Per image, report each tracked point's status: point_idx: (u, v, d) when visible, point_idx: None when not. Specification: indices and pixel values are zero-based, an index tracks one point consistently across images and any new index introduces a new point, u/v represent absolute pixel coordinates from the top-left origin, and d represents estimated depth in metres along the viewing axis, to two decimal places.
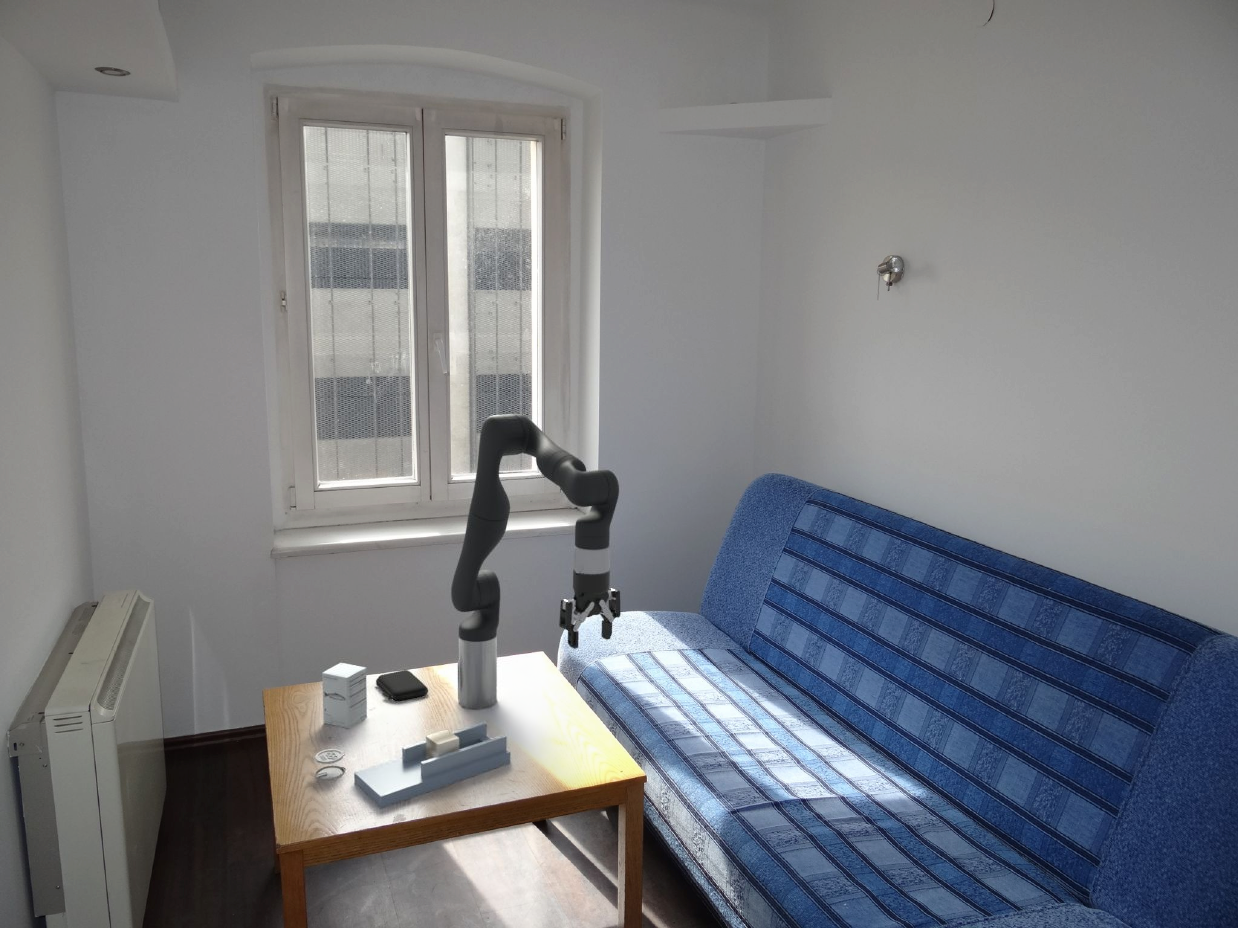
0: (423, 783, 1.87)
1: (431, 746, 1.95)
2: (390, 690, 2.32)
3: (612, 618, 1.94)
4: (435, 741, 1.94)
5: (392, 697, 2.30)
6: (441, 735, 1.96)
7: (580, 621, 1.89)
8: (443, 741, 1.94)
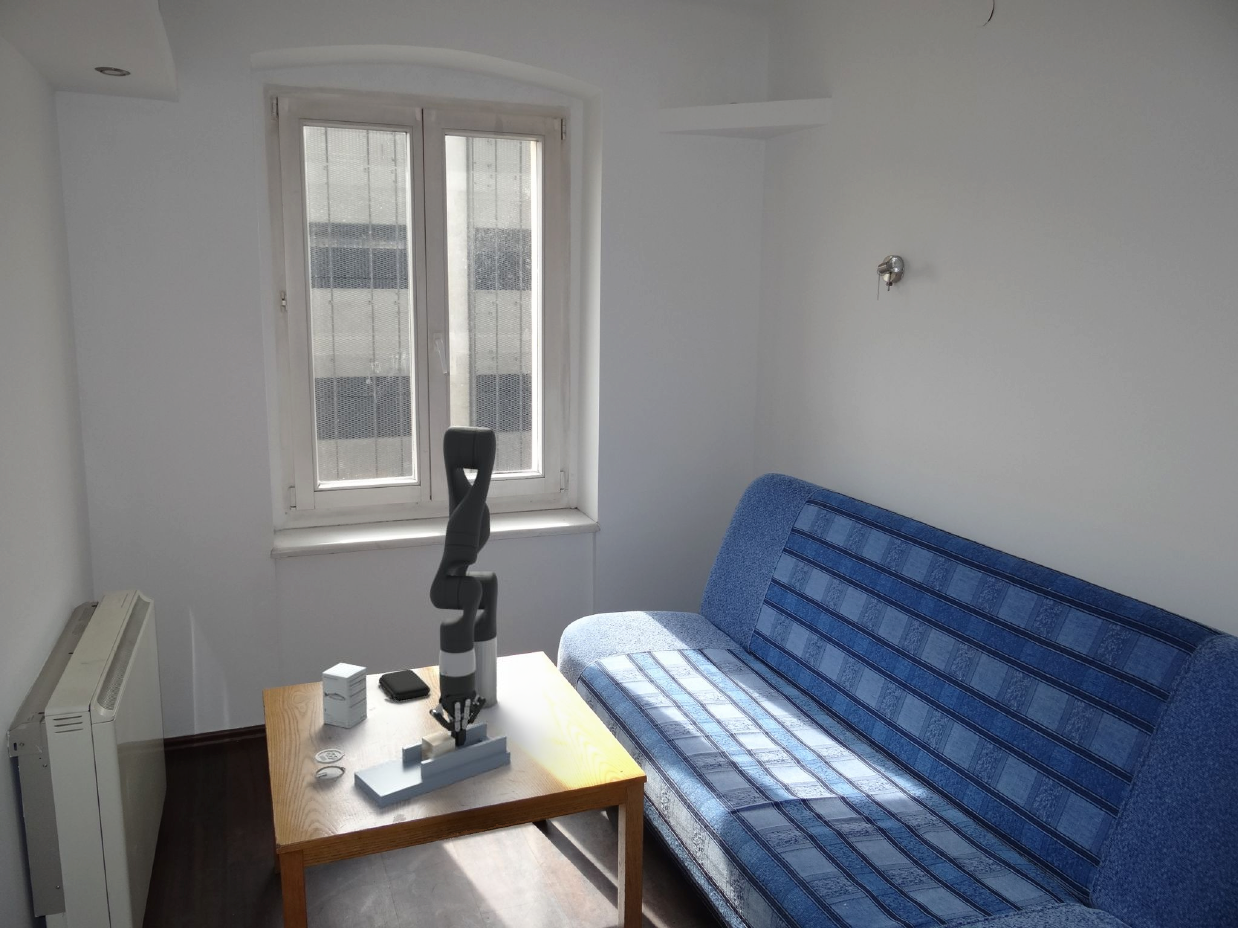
0: (423, 783, 1.87)
1: (427, 748, 1.94)
2: (392, 689, 2.32)
3: (465, 725, 1.98)
4: (431, 742, 1.93)
5: (394, 696, 2.30)
6: (437, 737, 1.96)
7: (458, 721, 1.96)
8: (439, 742, 1.93)
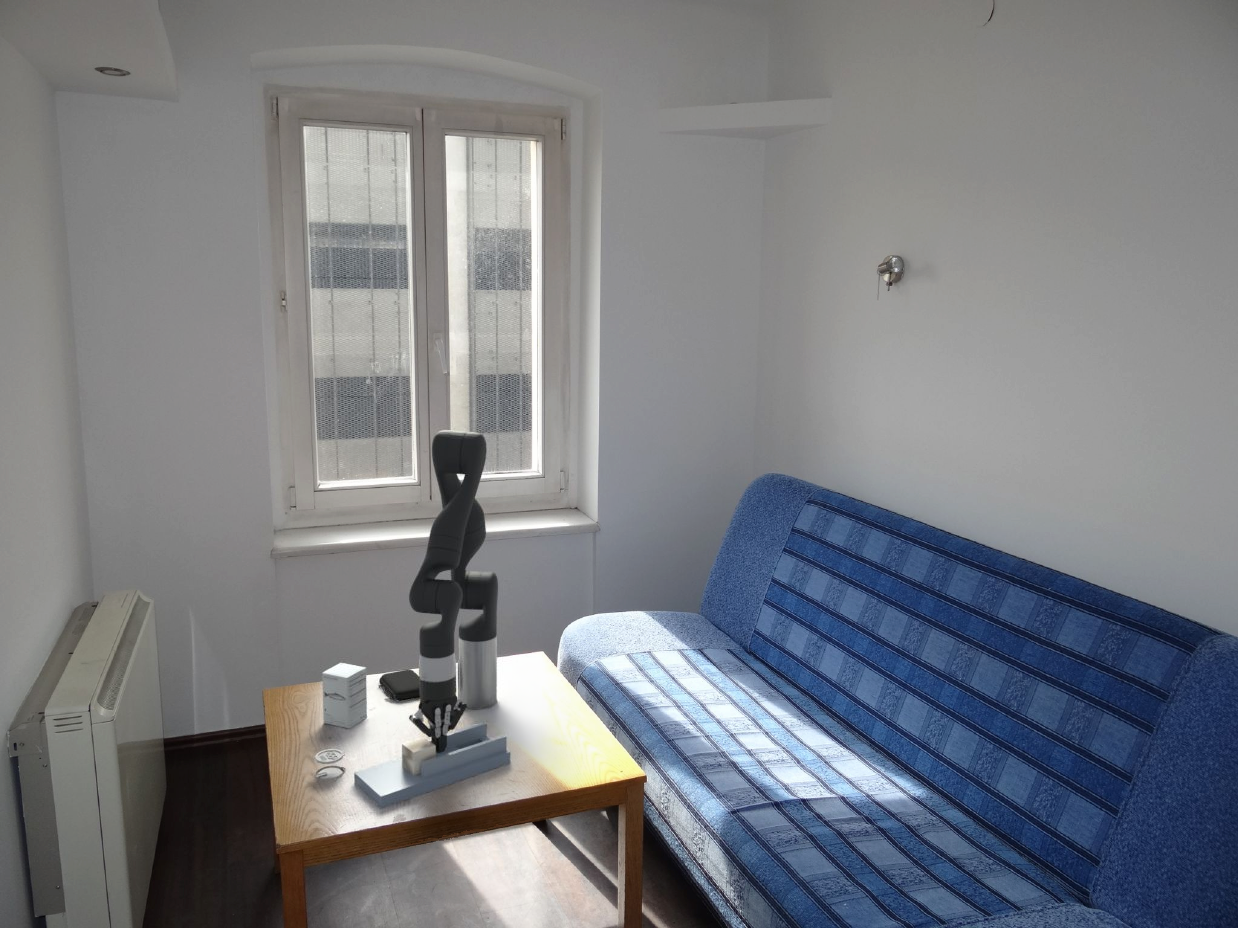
0: (423, 783, 1.87)
1: (407, 754, 1.91)
2: (392, 689, 2.33)
3: (446, 731, 1.95)
4: (411, 749, 1.90)
5: (394, 696, 2.30)
6: (417, 743, 1.93)
7: (438, 727, 1.93)
8: (419, 749, 1.90)
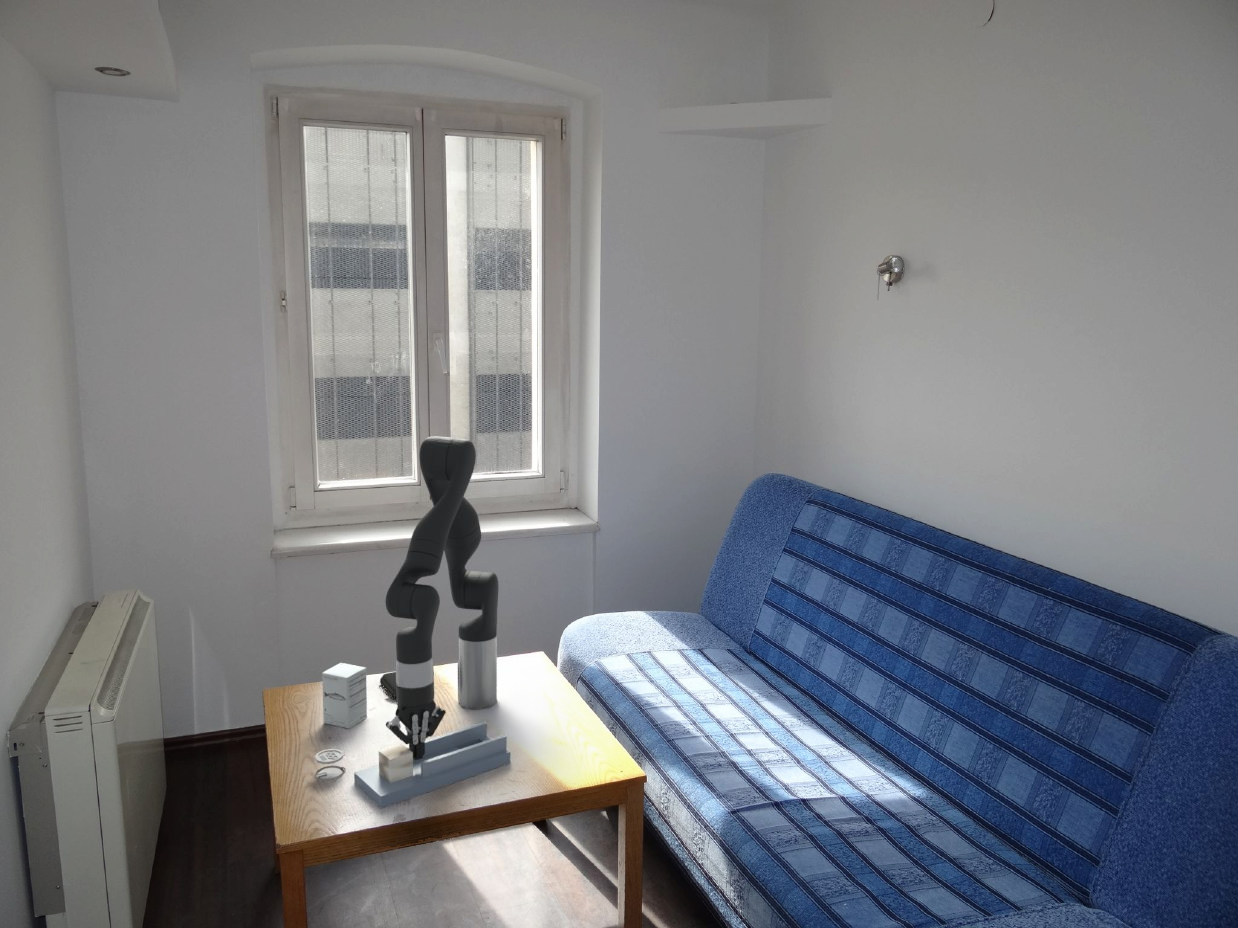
0: (423, 783, 1.87)
1: (384, 761, 1.88)
2: (393, 689, 2.33)
3: (423, 738, 1.91)
4: (387, 756, 1.87)
5: (394, 696, 2.30)
6: (395, 750, 1.89)
7: (415, 733, 1.90)
8: (396, 756, 1.87)
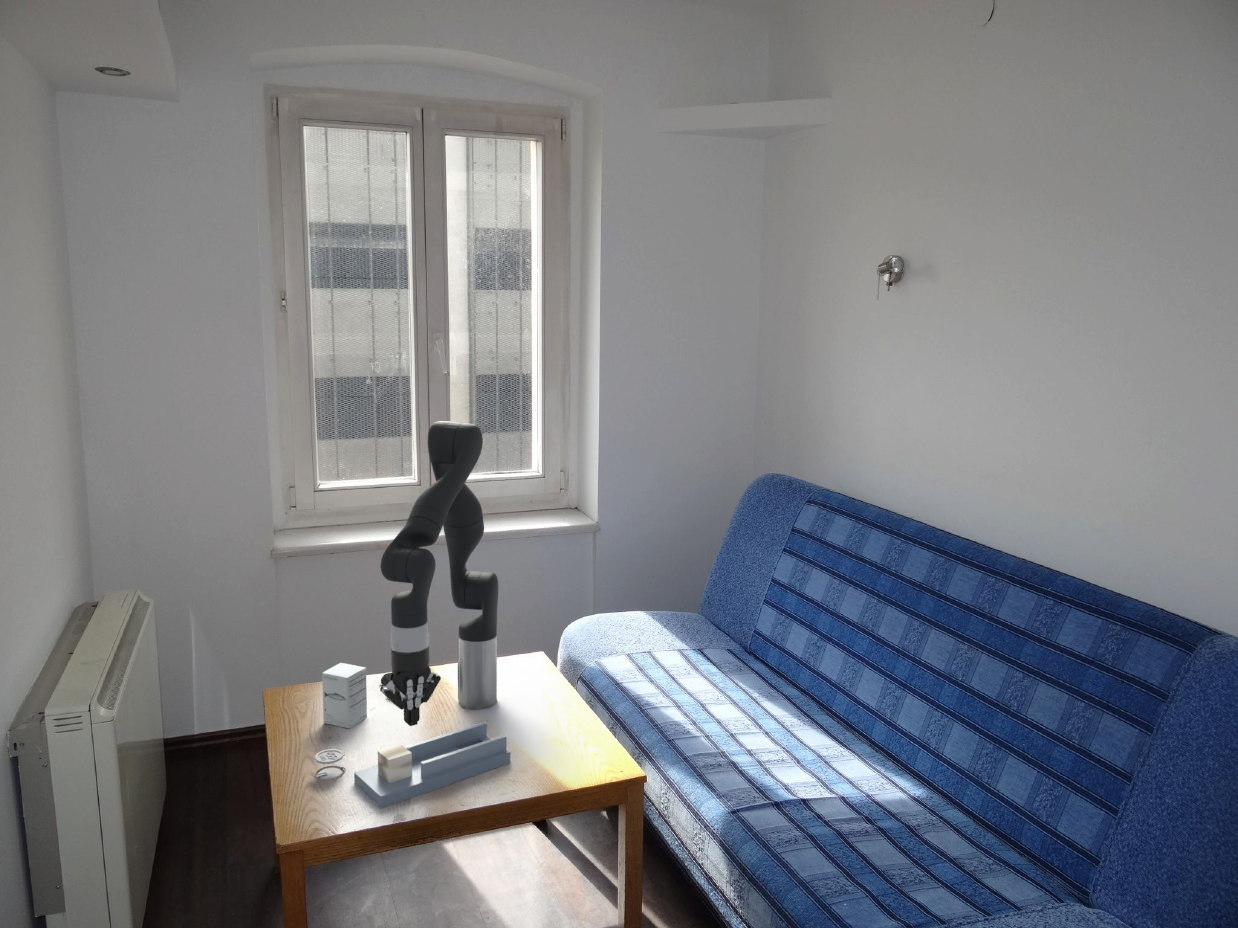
0: (423, 783, 1.87)
1: (383, 761, 1.88)
2: None
3: (418, 703, 1.90)
4: (386, 756, 1.87)
5: None
6: (394, 750, 1.89)
7: (410, 699, 1.88)
8: (395, 756, 1.87)
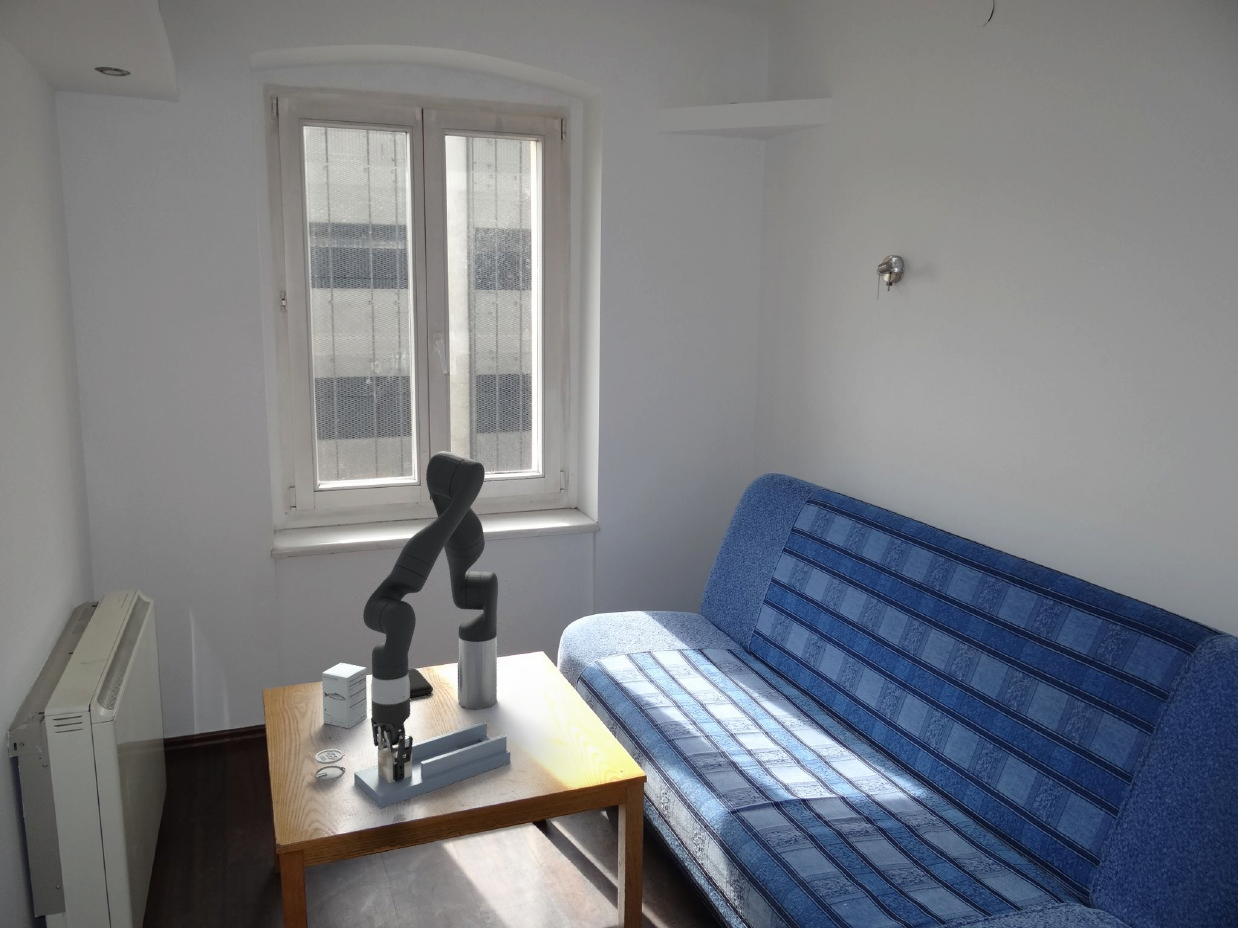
0: (423, 783, 1.87)
1: (383, 761, 1.88)
2: None
3: (394, 761, 1.85)
4: (386, 756, 1.87)
5: None
6: None
7: None
8: None
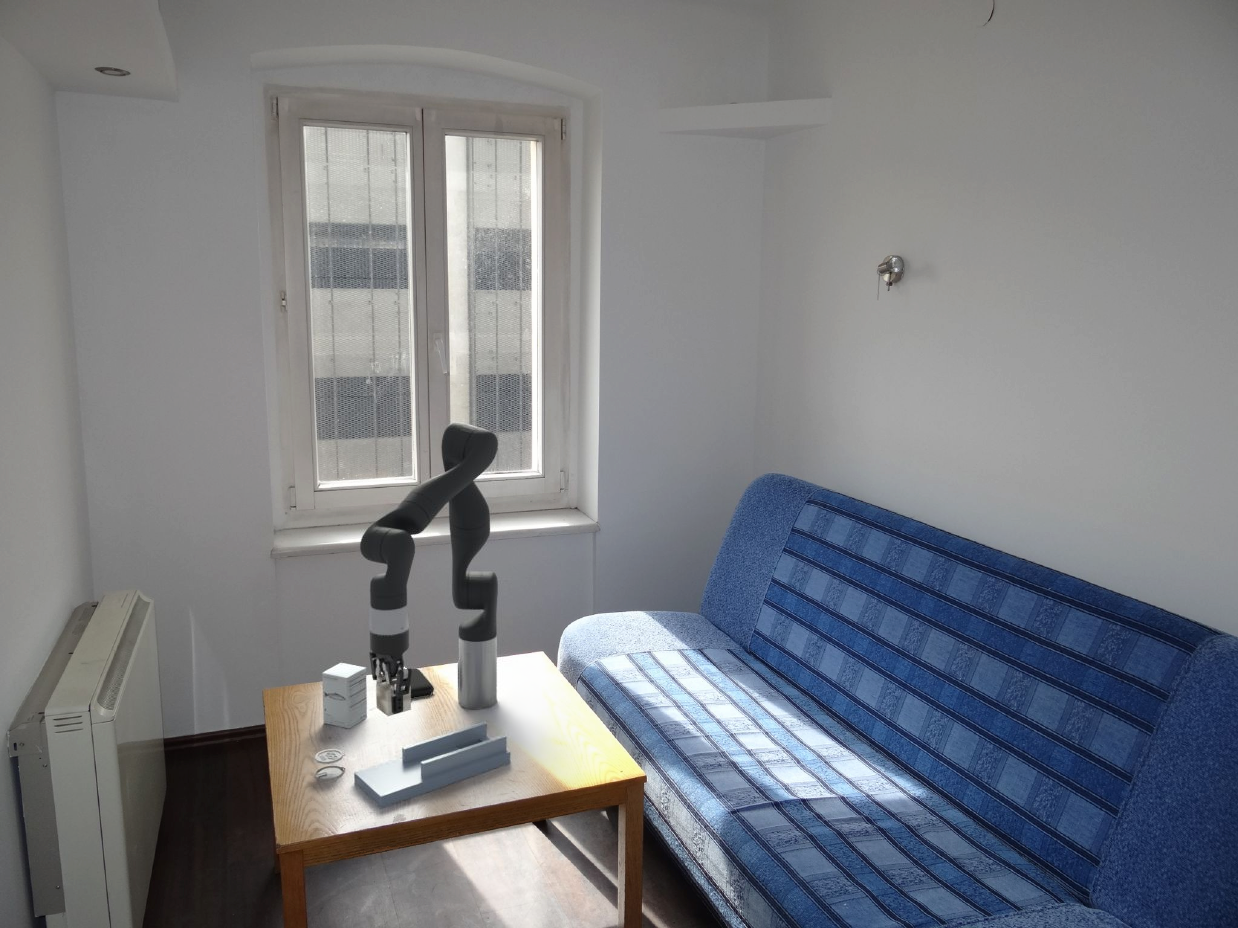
0: (423, 783, 1.87)
1: (381, 695, 1.85)
2: None
3: (392, 693, 1.83)
4: (385, 689, 1.84)
5: None
6: None
7: (378, 676, 1.87)
8: None
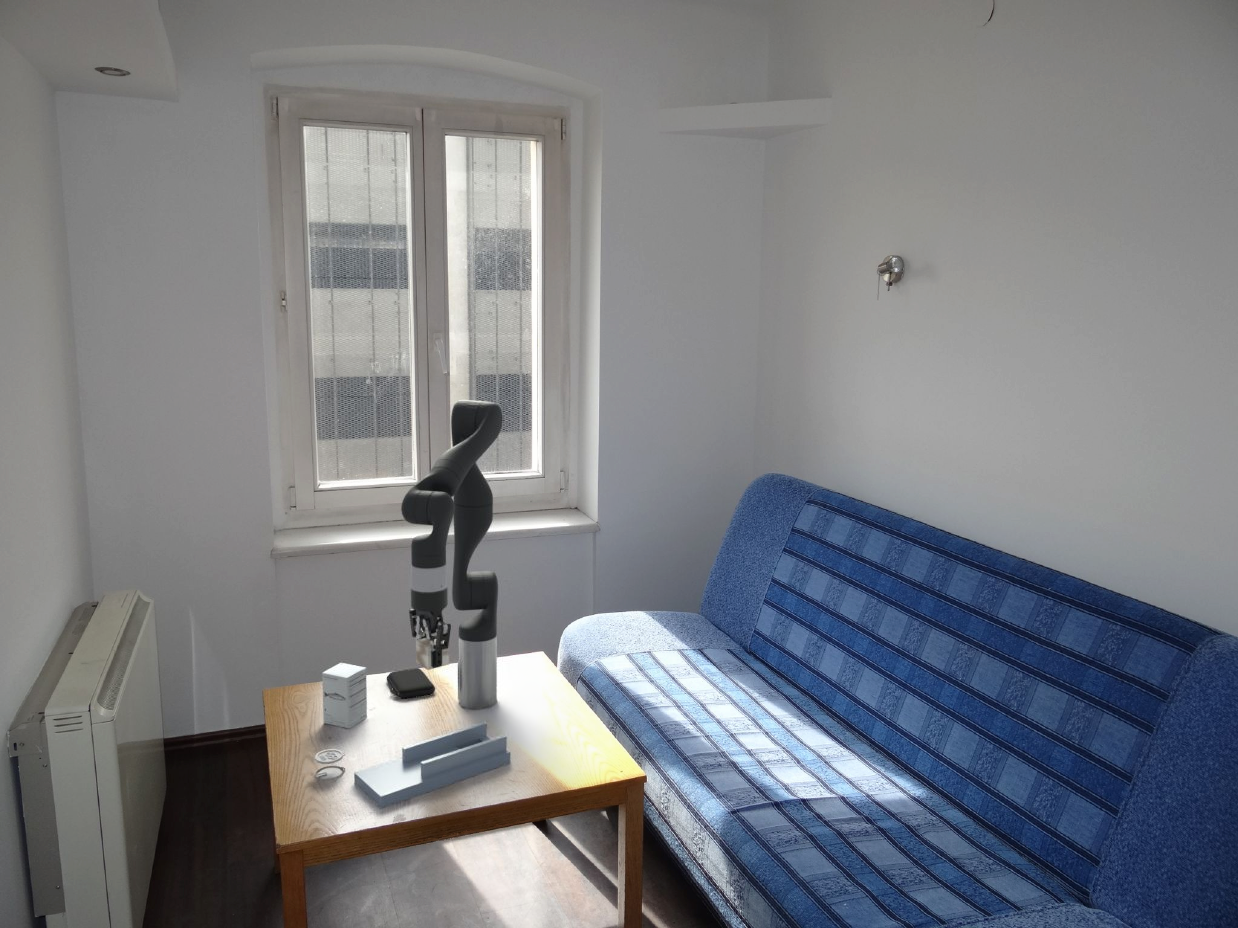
0: (423, 783, 1.87)
1: (421, 650, 1.96)
2: (397, 687, 2.34)
3: (432, 648, 1.93)
4: (425, 644, 1.95)
5: (398, 694, 2.31)
6: None
7: (418, 633, 1.97)
8: None
